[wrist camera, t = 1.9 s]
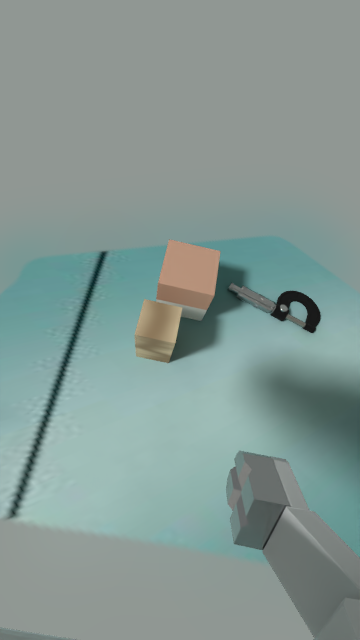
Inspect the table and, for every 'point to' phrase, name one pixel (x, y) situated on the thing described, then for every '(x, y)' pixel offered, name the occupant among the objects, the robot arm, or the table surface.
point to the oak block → (157, 330)
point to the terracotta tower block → (188, 275)
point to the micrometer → (281, 305)
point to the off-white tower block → (187, 311)
